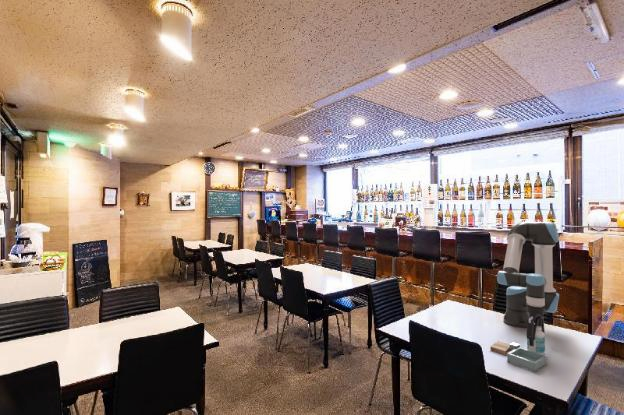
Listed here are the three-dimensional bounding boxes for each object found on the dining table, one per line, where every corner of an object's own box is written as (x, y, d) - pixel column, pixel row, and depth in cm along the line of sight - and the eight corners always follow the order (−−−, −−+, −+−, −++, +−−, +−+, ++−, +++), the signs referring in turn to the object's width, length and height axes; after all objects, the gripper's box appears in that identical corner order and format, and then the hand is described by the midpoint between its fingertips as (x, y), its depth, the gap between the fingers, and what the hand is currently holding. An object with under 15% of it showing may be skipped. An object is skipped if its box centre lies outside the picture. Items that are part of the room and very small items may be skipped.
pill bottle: (537, 357, 154) (536, 330, 154) (523, 350, 161) (523, 324, 161) (548, 355, 156) (548, 328, 156) (534, 348, 163) (534, 323, 163)
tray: (518, 354, 157) (518, 346, 157) (547, 364, 147) (547, 356, 147) (507, 361, 150) (507, 353, 150) (535, 372, 140) (535, 363, 140)
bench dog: (513, 351, 160) (513, 342, 160) (519, 354, 157) (519, 344, 157) (509, 354, 158) (509, 344, 158) (516, 356, 155) (516, 346, 155)
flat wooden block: (497, 345, 169) (497, 340, 169) (512, 349, 163) (512, 345, 163) (490, 351, 162) (490, 346, 162) (505, 356, 157) (505, 351, 157)
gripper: (535, 299, 167) (536, 342, 167) (517, 306, 156) (518, 352, 156) (552, 303, 161) (552, 347, 161) (535, 310, 150) (535, 358, 150)
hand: (535, 349), depth 158 cm, fingers closed on pill bottle, 7 cm apart
